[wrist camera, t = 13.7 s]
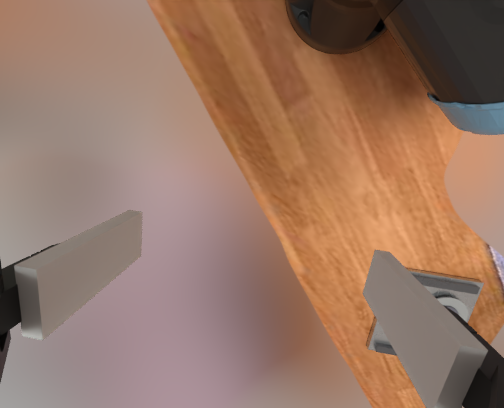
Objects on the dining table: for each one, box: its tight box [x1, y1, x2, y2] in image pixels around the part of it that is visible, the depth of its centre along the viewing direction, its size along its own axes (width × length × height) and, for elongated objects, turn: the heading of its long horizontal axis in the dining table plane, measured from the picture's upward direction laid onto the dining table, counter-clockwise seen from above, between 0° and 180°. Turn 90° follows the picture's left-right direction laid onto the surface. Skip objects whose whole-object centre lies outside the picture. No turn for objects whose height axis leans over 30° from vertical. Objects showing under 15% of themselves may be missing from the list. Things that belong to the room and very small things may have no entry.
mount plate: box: [366, 268, 484, 355], centre depth 42 cm, size 16×14×2 cm
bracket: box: [436, 297, 468, 321], centre depth 40 cm, size 7×10×4 cm, turn 129°
